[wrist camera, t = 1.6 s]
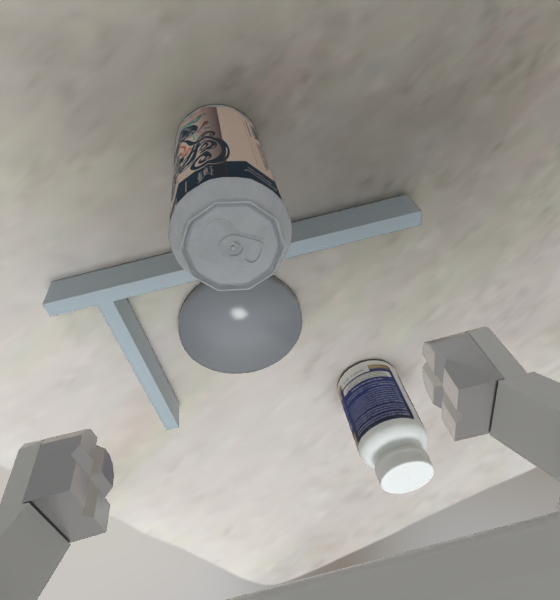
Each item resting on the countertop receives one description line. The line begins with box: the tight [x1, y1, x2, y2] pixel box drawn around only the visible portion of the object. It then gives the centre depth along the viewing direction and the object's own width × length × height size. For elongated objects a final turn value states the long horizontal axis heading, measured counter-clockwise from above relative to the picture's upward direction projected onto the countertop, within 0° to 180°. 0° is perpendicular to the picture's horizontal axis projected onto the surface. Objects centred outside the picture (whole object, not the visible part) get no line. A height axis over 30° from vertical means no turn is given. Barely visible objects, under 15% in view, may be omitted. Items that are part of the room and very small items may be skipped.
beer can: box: [168, 105, 292, 291], centre depth 22 cm, size 5×5×12 cm
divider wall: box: [42, 194, 422, 430], centre depth 34 cm, size 24×14×2 cm, turn 101°
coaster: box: [179, 276, 302, 374], centre depth 34 cm, size 9×9×1 cm
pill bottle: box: [338, 360, 434, 494], centre depth 37 cm, size 5×5×10 cm
